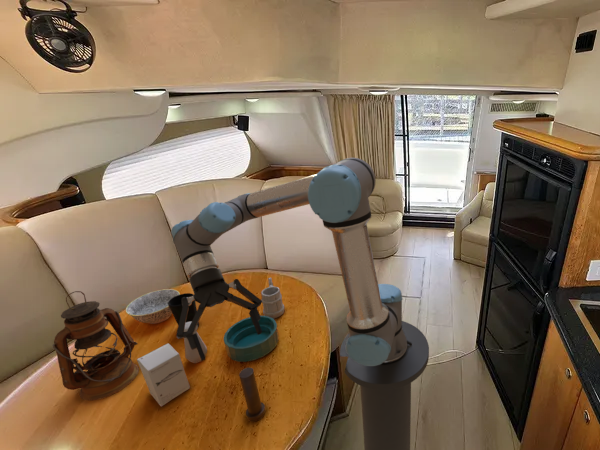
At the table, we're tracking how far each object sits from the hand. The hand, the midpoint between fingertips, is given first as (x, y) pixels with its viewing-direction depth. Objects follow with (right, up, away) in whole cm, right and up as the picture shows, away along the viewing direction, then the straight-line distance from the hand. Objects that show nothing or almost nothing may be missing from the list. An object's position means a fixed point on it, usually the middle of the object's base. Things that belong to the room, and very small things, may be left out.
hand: (233, 345), depth 80 cm
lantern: (-41, -14, +10) cm, 44 cm away
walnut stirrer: (+6, -18, 0) cm, 18 cm away
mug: (-6, -2, +41) cm, 41 cm away
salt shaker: (-21, -11, +18) cm, 29 cm away
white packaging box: (-21, -15, +7) cm, 27 cm away
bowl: (-47, -4, +36) cm, 59 cm away
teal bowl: (-5, -9, +23) cm, 25 cm away
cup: (-32, -6, +31) cm, 45 cm away
